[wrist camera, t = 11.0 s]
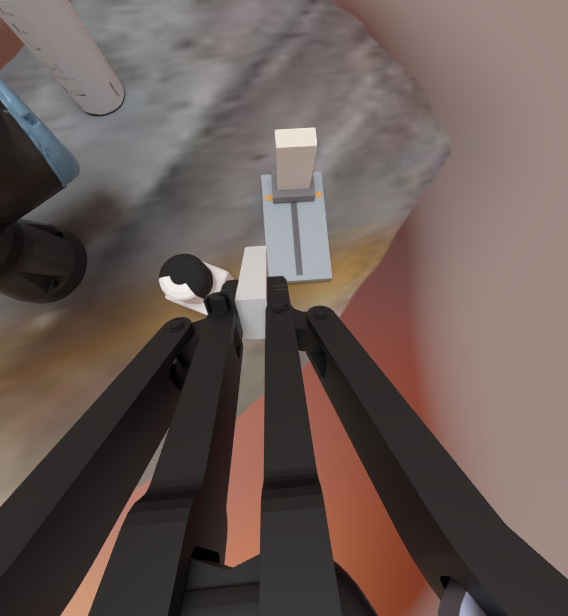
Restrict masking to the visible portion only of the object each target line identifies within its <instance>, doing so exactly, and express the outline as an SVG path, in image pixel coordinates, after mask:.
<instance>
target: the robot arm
mask: <svg viewBox="0 0 568 616" xmlns="http://www.w3.org/2000/svg"><path fill="white" fill-rule="evenodd" d="M79 171H80V167H79V163H78V162H77V160H76V159H75V157H74V156H73V155H72V154H71V153H70V152H69V151H68V149H67V148H66V147H65V146H64V145H63V144H62V143H61V142H60V141H59V140H58V139H57V137H56V136H55V135H54V134H53V133H52V132H51V131H50V130H49V129H48V128H47V127H46V126H45V124H44V123H43V122H42V121H41V120H40V119H39V118H38V117H37V116H36V115H35V114H34V113H33V112H32V111H31V110H30V109H29V107H28V106H27V105H26V104H25V103H24V102H23V101H22V100H21V99H20V98H19V97H18V96H17V95H16V94H15V93H14V91H13V90H12V89H11V88H10V87H9V86H8V85H7V84H6V83H5V82H4V81H3V80H2V79H1V78H0V293H2V294H4V295H6V296H9V297H11V298H14V299H17V300H20V301H26V302H34V303H48V302H53V301H56V300H59V299H61V298H63V297H64V296H66V295H67V294H69V293H70V292H71V291H72V290H73V289H74V288H75V287H76V286H77V285H78V283H79V282H80V280H81V278H82V276H83V274H84V271H85V267H86V254H85V251H84V248H83V246H82V244H81V242H80V241H79V240H78V239H77V238H76V237H75V236H74V235H72V234H71V233H69V232H67V231H65V230H63V229H61V228H59V227H56V226H53V225H50V224H45V223H40V222H35V221H30V220H25V219H20V218H22V217H23V216H24V215H26V214H27V213H29V212H30V211H32V210H33V209H35V208H36V207H38V206H39V205H40V204H42V203H43V202H45V201H46V200H48V199H49V198H51V197H52V196H54V195H55V194H56V193H58V192H59V191H61V190H62V189H65V188H66V187H67V184H68V183H70V182H71V181H72V180H73V179H74V178H75V177H76V176H78V174H79ZM203 302H204V305H205V308H206V310H207V313H208V315H207V318H205V319H202V320H199V321H196V322H193V323H191V320H190V319H188V318H186V317H178V318H175V319H172V320H170V321H168V322H167V323H166V324H164V325H163V327H162V328H161V329H160V330H159V331H158V332H157V333H156V334H155V335H154V337H153V338H152V339H151V340H150V341H149V342H148V343H147V344H146V345H145V347H144V348H143V349H142V350H141V351H140V352H139V353H138V354H137V355H136V357H135V358H134V359H133V360H132V361H131V362H130V363H129V364H128V365H127V367H126V368H125V369H124V370H123V371H122V372H121V373H120V374H119V375H118V377H117V378H116V379H115V380H114V381H113V382H112V383H111V384H110V385H109V387H108V388H107V389H106V390H105V391H104V392H103V393H102V394H101V396H100V397H99V398H98V399H97V400H96V401H95V402H94V403H93V404H92V406H91V407H90V408H89V409H88V410H87V411H86V412H85V413H84V414H83V416H82V417H81V418H80V419H79V420H78V421H77V422H76V423H75V424H74V426H73V427H72V428H71V429H70V430H69V431H68V432H67V433H66V434H65V436H64V437H63V438H62V439H61V440H60V441H59V442H58V443H57V444H56V446H55V447H54V448H53V449H52V450H51V451H50V452H49V453H48V454H47V456H46V457H45V458H44V459H43V460H42V461H41V462H40V463H39V465H38V466H37V467H36V468H35V469H34V470H33V471H32V472H31V473H30V475H29V476H28V477H27V478H26V479H25V480H24V481H23V482H22V483H21V485H20V486H19V487H18V488H17V489H16V490H15V491H14V492H13V493H12V495H11V496H10V497H9V498H8V499H7V500H6V501H5V502H4V503H3V505H2V506H1V507H0V616H60V615H61V614H62V612H63V611H64V609H65V608H66V606H67V605H68V603H69V602H70V600H71V599H72V597H73V596H74V594H75V593H76V591H77V589H78V588H79V586H80V584H81V582H82V581H83V579H84V577H85V576H86V574H87V572H88V571H89V569H90V567H91V566H92V564H93V562H94V560H95V559H96V557H97V555H98V553H99V552H100V550H101V548H102V546H103V544H104V542H105V541H106V539H107V537H108V535H109V534H110V532H111V530H112V528H113V526H114V525H115V523H116V521H117V519H118V518H119V516H120V514H121V512H122V510H123V509H124V507H125V505H126V503H127V502H128V500H129V498H130V496H131V494H132V493H133V491H134V489H135V487H136V486H137V484H138V482H139V480H140V478H141V477H142V475H143V473H144V471H145V469H146V468H147V466H148V464H149V462H150V461H151V459H152V457H153V455H154V453H155V452H156V450H157V448H158V446H159V444H160V443H161V441H162V439H163V437H164V436H165V434H166V432H167V430H168V428H169V430H168V433H167V436H166V439H165V442H164V445H163V448H162V451H161V454H160V457H159V460H158V463H157V466H156V469H155V472H154V475H153V478H152V481H151V483H150V486H149V488H148V490H147V492H146V493H145V495H144V496H142V497H141V498H140V499H139V500H138V501H137V502H135V504H134V505H133V506H132V508H131V509H130V511H129V512H128V514H127V516H126V518H125V521H124V523H123V525H122V527H121V529H120V532H119V535H118V537H117V540H116V543H115V546H114V548H113V551H112V553H111V556H110V559H109V561H108V564H107V567H106V569H105V572H104V575H103V577H102V580H101V583H100V585H99V588H98V591H97V593H96V596H95V599H94V601H93V604H92V607H91V610H90V612H89V614H88V616H378V614H377V613H376V612H375V610H374V609H373V607H372V606H371V604H370V602H369V601H368V599H367V598H366V596H365V595H364V593H363V592H362V590H361V589H360V588H359V586H358V585H357V584H356V582H355V581H354V580H353V579H352V578H351V577H350V575H349V574H348V573H347V572H346V571H345V570H344V569H343V568H342V567H341V566H339V565H338V564H337V563H336V562H334V561H333V555H332V549H331V543H330V537H329V530H328V525H327V518H326V511H325V505H324V500H323V494H322V489H321V485H320V482H319V479H318V475H317V470H316V463H315V456H314V450H313V443H312V437H311V430H310V424H309V417H308V410H307V404H306V397H305V391H304V384H303V379H302V371H301V364H300V358H299V351H298V350H300V351H305V352H306V354H307V356H308V358H309V360H310V362H311V364H312V366H313V368H314V369H315V371H316V373H317V375H318V377H319V379H320V381H321V383H322V385H323V387H324V389H325V391H326V393H327V395H328V397H329V399H330V401H331V403H332V404H333V407H334V409H335V410H336V412H337V415H338V416H339V418H340V420H341V422H342V424H343V426H344V428H345V430H346V432H347V434H348V436H349V438H350V440H351V442H352V444H353V446H354V448H355V450H356V452H357V454H358V456H359V457H360V460H361V461H362V463H363V465H364V467H365V469H366V471H367V473H368V475H369V477H370V479H371V481H372V483H373V485H374V487H375V489H376V491H377V493H378V495H379V497H380V499H381V501H382V503H383V505H384V506H385V508H386V510H387V512H388V514H389V516H390V518H391V520H392V522H393V524H394V526H395V528H396V530H397V532H398V534H399V536H400V537H401V539H402V541H403V543H404V545H405V546H406V548H407V550H408V552H409V554H410V555H411V557H412V559H413V560H414V562H415V564H416V565H417V567H418V568H419V570H420V571H421V573H422V574H423V576H424V577H425V579H426V581H427V582H428V584H429V585H430V587H431V588H432V589H433V591H434V592H435V593H436V595H437V596H438V597H439V599H440V600H441V601H440V605H439V609H438V616H568V579H567V578H566V577H565V576H563V575H562V574H561V573H560V572H559V571H558V570H556V569H555V568H554V567H553V566H552V565H551V564H550V563H548V562H547V561H546V560H545V559H544V558H543V557H542V556H541V555H540V554H538V553H537V552H536V551H535V550H534V549H533V548H532V547H530V546H529V545H528V544H527V543H526V542H525V541H524V540H523V539H521V538H520V537H519V536H518V535H517V534H516V533H515V532H513V531H512V530H511V529H510V528H509V527H508V526H507V525H506V524H505V523H504V522H503V521H502V519H501V518H500V517H499V516H498V514H497V513H496V512H495V511H494V509H493V508H492V507H491V506H490V504H488V502H487V501H486V499H485V498H484V497H483V496H482V494H481V493H480V492H479V491H478V490H477V489H476V487H475V486H474V485H473V483H472V482H471V481H470V480H469V479H468V477H467V476H466V475H465V473H464V472H463V471H462V470H461V468H460V467H459V466H458V465H457V464H456V462H455V461H454V460H453V459H452V458H451V456H450V455H449V454H448V452H447V451H446V450H445V449H444V448H443V446H442V445H441V444H440V443H439V441H438V440H437V439H436V438H435V436H434V435H433V434H432V433H431V431H430V430H429V429H428V428H427V426H426V425H425V424H424V423H423V421H422V420H421V419H420V418H419V417H418V415H417V414H416V413H415V412H414V410H413V409H412V408H411V407H410V405H409V404H408V403H407V402H406V400H405V399H404V398H403V397H402V395H401V394H400V393H399V392H398V391H397V389H396V388H395V387H394V386H393V384H392V383H391V382H390V381H389V379H388V378H387V377H386V376H385V374H384V373H383V372H382V371H381V370H380V368H379V367H378V366H377V365H376V363H375V362H374V361H373V360H372V359H371V357H370V356H369V355H368V353H367V352H366V351H365V350H364V348H363V347H362V346H361V345H360V344H359V342H358V341H357V340H356V339H355V337H354V336H353V335H352V334H351V332H350V331H349V330H348V329H347V328H346V326H345V325H344V324H343V322H342V321H341V320H340V319H339V317H338V316H337V315H336V314H335V313H334V311H333V310H331V309H330V308H328V307H326V306H314V307H312V308H310V309H309V310H308V312H302V311H298V310H296V309H294V308H293V307H292V306H291V304H290V299H289V292H288V285H287V280H286V279H285V277H284V276H272V277H269V270H268V260H267V250H266V246H255V247H245V252H244V257H243V262H242V267H241V272H240V276H239V280H227V281H226V282H225V283H224V284H223V285H222V288H221V291H220V292H216V293H212V294H210V295H208V296H207V297H205V299H204V300H203ZM242 335H243V338H244V340H250V339H262V338H265V414H264V415H265V416H264V418H265V419H264V483H263V488H262V496H261V527H260V528H261V529H260V554H259V555H257V556H255V557H253V558H251V559H249V560H247V561H245V562H243V563H241V564H239V565H237V566H236V567H234V568H232V567H229V566H226V565H224V562H225V552H226V542H227V513H226V504H227V493H228V483H229V475H230V465H231V456H232V447H233V438H234V429H235V420H236V411H237V401H238V392H239V383H240V374H241V364H242V355H243V343H242ZM175 359H176V361H175ZM174 361H175V362H174ZM173 362H174V363H173Z"/></svg>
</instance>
